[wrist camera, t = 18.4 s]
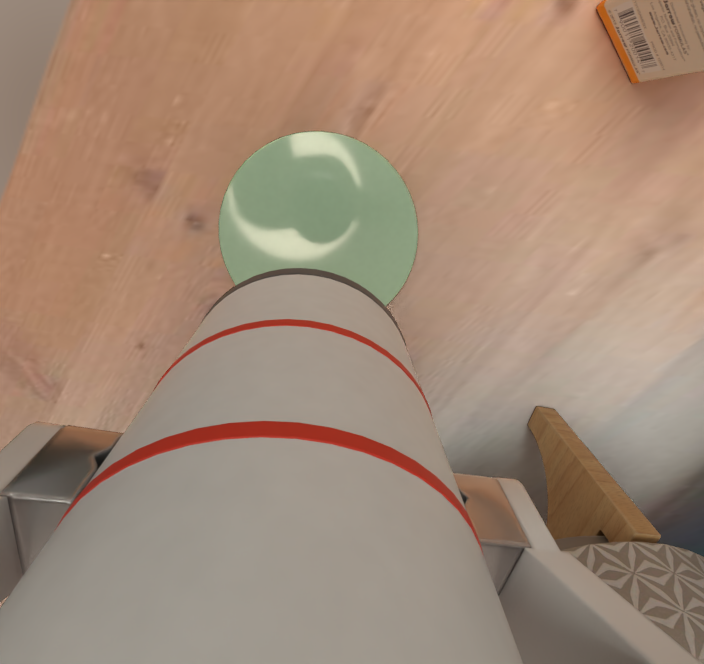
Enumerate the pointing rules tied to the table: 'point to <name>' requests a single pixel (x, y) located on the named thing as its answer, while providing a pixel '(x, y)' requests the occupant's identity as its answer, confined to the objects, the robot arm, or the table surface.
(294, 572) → the white striped cylinder
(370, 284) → the coaster
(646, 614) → the planter
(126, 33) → the table surface
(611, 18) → the supplement box
